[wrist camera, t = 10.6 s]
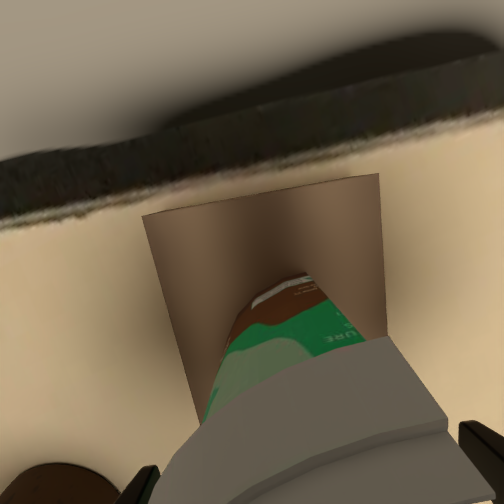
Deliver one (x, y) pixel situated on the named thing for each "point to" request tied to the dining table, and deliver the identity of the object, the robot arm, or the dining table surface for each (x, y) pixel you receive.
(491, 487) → the robot arm
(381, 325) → the base board
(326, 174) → the dining table surface
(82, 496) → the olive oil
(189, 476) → the food container
